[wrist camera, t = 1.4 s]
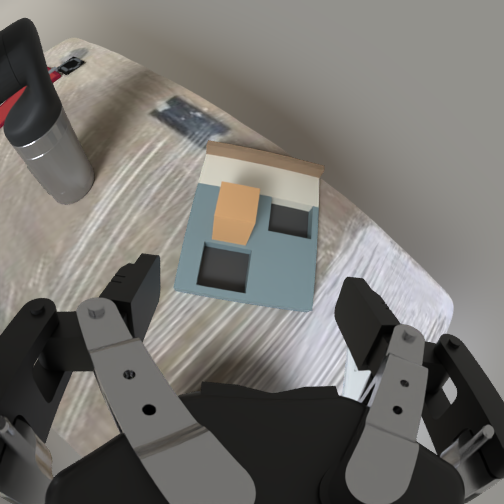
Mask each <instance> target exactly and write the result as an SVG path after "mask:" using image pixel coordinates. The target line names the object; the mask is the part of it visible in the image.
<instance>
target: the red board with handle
mask: <svg viewBox="0 0 504 504" xmlns="http://www.w3.org/2000/svg"><path fill="white" fill-rule="evenodd" d="M83 63H84V61H82V60H80V59H78V58H75V57H72V58H71V59H69V60H68V61H66V62H65V63H63V64H62V65H60V66H59V67H57V68H56V67H53V68H52V69H51V68H49V67H47V68H48V72H49V75H50V78H51V80H52V83H53V82H55V81H56V80H57V79H59V78H60V77H61V75H60V74H59V73H57V72H58V71H60V72H62V73H63V74H65V75H67V74H68V73H69V72H71V71H72V70H74V69H75V68H77V67H78V66H80V65H81V64H83ZM25 88H26V86H25V87H23V88H22V89H21V90H19V91H18V92H17V93H15V94H14V95H12V96H11V97H10V98H8V99H7V100H6V101H5V102H4V103H3V104H2V105H1V106H0V128H1V127H2V126H3V125H4V122H5V119H6V116H7V114H8V112H9V111H10V109H11V108H12V106H13V105H14V104H15V102H16V101H17V100H18V99H19V97H20V96H21V95H22V93H23V91H24V90H25Z"/></svg>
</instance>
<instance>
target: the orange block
mask: <svg viewBox="0 0 504 504" xmlns="http://www.w3.org/2000/svg"><path fill="white" fill-rule="evenodd" d="M259 194H260V189H259V188H254V187H249V186H244V185H239V184H234V183H229V182H223V181H222V182H221V187H220V191H219V196H218V200H217V205H216V210H215V214H214V223H213V233H212V239H213V240H218V241H224V242H229V243H235V244H240V245H245V246H246V244H247V241H248V239H249V237H250V234H251V232H252V230H253V228H254V225H255V222H256V215H257V208H258V201H259Z"/></svg>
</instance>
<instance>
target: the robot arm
mask: <svg viewBox="0 0 504 504" xmlns="http://www.w3.org/2000/svg"><path fill="white" fill-rule="evenodd" d="M25 86H26V88H25V90H24V91H23V93H22V95H21V96H20V97H19V99H18V100H17V101H16V102H15V104H14V105H13V106H12V108H11V109H10V111H9V112H8V114H7V116H6V119H5V122H4V133H5V136H6V137H7V139H8V140H9V142H10V143H11V144H12V146H13V147H14V149H15V150H16V151H17V153H18V154H19V155H20V157H21V158H22V159H23V160H24V162H25V163H26V164H27V168H28V169H29V171H30V172H31V173H32V174H33V176H34V177H35V178H36V179H37V181H38V182H39V183H40V184H41V185H42V187H43V188H44V189H45V190H46V191H47V193H48V194H50V195H52V197H53V198H54V199H55V200H56V201H57V202H59V203H61V204H71V203H75V202H76V201H78V200H80V199H81V198H83V197H84V196H85V195H86V194H87V192H88V191H89V190H90V188H91V186H92V184H93V181H94V171H93V168H92V166H91V164H90V162H89V160H88V158H87V156H86V154H85V152H84V150H83V148H82V146H81V144H80V142H79V140H78V138H77V136H76V134H75V132H74V130H73V128H72V126H71V124H70V121H69V119H68V117H67V115H66V113H65V110H64V108H63V106H62V104H61V101H60V99H59V97H58V94H57V92H56V90H55V88H54V85H53V83H52V80H51V78H50V75H49V72H48V68H47V65H46V61H45V58H44V54H43V50H42V46H41V43H40V39H39V35H38V32H37V30H36V27H35V25H34V24H33V22H32V21H31V20H30V19H28V18H22V19H20V20H18V21H16V22H14V23H12V24H11V25H9V26H8V27H6V28H5V29H3V30H2V31H0V105H1V104H2V103H3V102H4V101H6V100H7V99H8V98H10V97H11V96H12V95H14V94H15V93H17V92H18V91H19V90H21V89H22V88H23V87H25ZM159 298H160V256H159V255H151V254H143V253H142V254H141V255H140V257H139V258H138V259H137V261H136V262H135V264H131V263H128V264H127V265H125V266H123V267H121V268H120V269H119V270H118V272H117V273H116V274H115V276H114V277H113V278H112V280H111V282H109V284H108V285H107V286H106V288H105V289H104V291H103V292H102V293H101V295H100V296H99V298H91V299H88V300H85V301H84V302H82V303H81V304H80V305H79V306H78V308H77V311H74V312H57V310H56V306H55V304H54V302H53V301H51V300H50V299H46V298H38V299H34V300H31V301H29V302H28V303H26V304H25V305H24V306H23V307H22V308H21V310H20V311H19V312H18V313H17V315H16V316H15V317H14V318H13V320H12V321H11V322H10V323H9V325H8V326H7V327H6V329H5V330H4V331H3V333H2V334H1V335H0V497H2V498H3V499H5V500H7V501H9V502H10V503H12V504H464V503H467V502H468V501H471V500H472V499H474V498H475V497H477V496H479V495H480V494H482V493H483V492H485V491H486V490H488V489H489V488H491V487H492V486H493V485H495V484H496V483H498V482H499V481H500V480H502V479H503V478H504V402H503V400H502V399H501V397H500V395H499V394H498V392H497V391H496V389H495V388H494V386H493V385H492V383H491V381H490V380H489V378H488V377H487V375H486V374H485V373H484V371H483V370H482V368H481V367H480V365H479V364H478V363H477V361H476V360H475V358H474V357H473V356H472V354H471V353H470V351H469V350H468V349H467V347H466V346H465V345H464V343H463V342H462V341H460V339H458V338H457V337H455V336H453V335H450V334H443V335H441V337H440V338H439V340H438V342H437V344H436V343H431V342H426V341H425V339H424V336H423V335H422V333H421V332H420V331H418V330H417V329H415V328H414V327H412V326H409V325H404V324H400V322H399V321H398V319H397V318H396V317H395V315H394V314H393V313H392V311H391V310H389V307H388V306H387V304H385V302H384V300H383V299H382V298H381V296H380V295H378V294H377V293H376V292H374V291H373V290H372V289H371V288H370V287H369V285H368V284H367V283H366V281H365V280H364V279H363V278H354V277H347V278H346V279H345V280H344V282H343V286H342V289H341V292H340V295H339V297H338V300H337V303H336V306H335V320H336V322H337V324H338V326H339V329H340V331H341V333H342V335H343V337H344V340H345V342H346V344H347V346H348V348H349V351H350V353H351V355H352V357H353V360H354V362H355V364H356V366H357V369H358V371H366V370H370V371H371V373H370V374H369V376H368V378H367V380H366V382H365V385H364V387H363V389H362V392H361V394H360V396H359V398H358V400H357V401H356V400H354V399H351V398H348V397H344V396H339V395H338V392H337V389H336V386H321V387H302V388H298V389H293V390H289V391H284V392H279V393H268V392H264V391H259V390H255V389H251V388H247V387H243V386H240V385H234V384H222V383H211V382H202V385H201V391H197V392H191V393H186V394H182V395H179V396H177V395H176V393H175V392H174V391H173V389H172V388H171V386H170V385H169V383H168V382H167V380H166V379H165V377H164V376H163V374H162V373H161V371H160V370H159V368H158V367H157V365H156V364H155V362H154V361H153V359H152V357H151V356H150V354H149V353H148V351H147V349H146V348H145V346H144V344H143V340H144V337H145V335H146V332H147V329H148V327H149V324H150V322H151V319H152V317H153V314H154V312H155V309H156V307H157V304H158V302H159ZM37 358H38V360H37ZM36 360H37V362H36ZM35 362H36V363H35ZM34 364H35V365H34ZM33 366H34V367H33ZM73 371H93V372H94V375H95V378H96V380H97V383H98V385H99V388H100V390H101V393H102V395H103V397H104V400H105V402H106V404H107V406H108V409H109V411H110V413H111V415H112V418H113V420H114V422H115V424H116V426H117V428H118V430H119V432H120V434H119V435H117V436H116V437H114V438H113V439H111V440H110V441H108V442H107V443H105V444H104V445H102V446H101V447H99V448H98V449H96V450H94V451H93V452H91V453H90V454H88V455H87V456H85V457H83V458H82V459H80V460H78V461H77V462H76V463H74V464H72V465H70V466H69V467H67V468H65V469H64V470H62V471H61V472H59V473H58V474H57V475H56V476H55V477H54V478H53V475H52V456H51V453H50V451H49V449H48V448H47V446H46V445H45V443H46V439H47V437H48V434H49V431H50V428H51V425H52V422H53V420H54V417H55V414H56V411H57V409H58V406H59V404H60V401H61V399H62V396H63V394H64V391H65V389H66V386H67V384H68V382H69V379H70V377H71V375H72V372H73ZM449 377H450V378H451V380H452V381H453V383H454V385H455V386H456V388H457V397H456V399H455V401H454V402H453V403H452V404H450V402H449V400H448V398H447V397H446V395H445V393H444V391H443V389H442V386H443V385H444V384H445V382H446V381H447V380H448V378H449ZM421 416H422V418H423V421H424V423H425V425H426V428H427V430H428V432H429V435H430V437H431V440H432V442H433V445H434V447H435V450H436V452H437V455H436V454H435V453H433V452H432V451H430V450H429V449H427V448H426V447H424V446H423V445H421V444H420V443H418V442H417V441H416V438H417V433H418V428H419V424H420V419H421Z"/></svg>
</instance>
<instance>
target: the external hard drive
mask: <svg viewBox="0 0 504 504" xmlns="http://www.w3.org/2000/svg"><path fill="white" fill-rule="evenodd" d="M370 373H371V371H370V370H366V371H358V369H357V366H356V364H355V362H354V360H353V357H352V355H351V353H350V351H349V348H348V347H347V351H346V363H345V373H344V382H343V391H342V396H344V397H348V398H351V399H354V400H356V401H357V400H358V398H359V396H360V394H361V392H362V389H363V387H364V385H365V382H366V380H367V378H368V376H369V374H370Z"/></svg>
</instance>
